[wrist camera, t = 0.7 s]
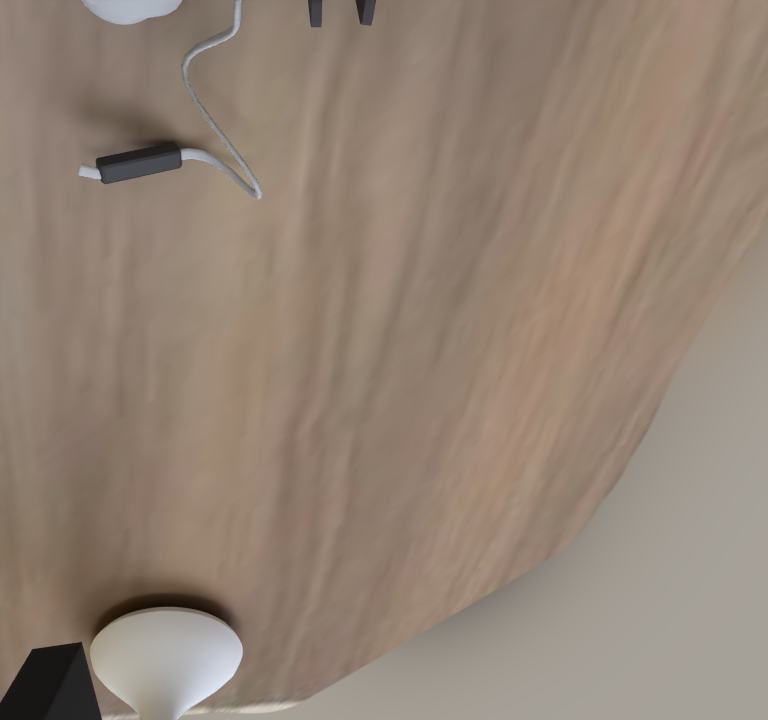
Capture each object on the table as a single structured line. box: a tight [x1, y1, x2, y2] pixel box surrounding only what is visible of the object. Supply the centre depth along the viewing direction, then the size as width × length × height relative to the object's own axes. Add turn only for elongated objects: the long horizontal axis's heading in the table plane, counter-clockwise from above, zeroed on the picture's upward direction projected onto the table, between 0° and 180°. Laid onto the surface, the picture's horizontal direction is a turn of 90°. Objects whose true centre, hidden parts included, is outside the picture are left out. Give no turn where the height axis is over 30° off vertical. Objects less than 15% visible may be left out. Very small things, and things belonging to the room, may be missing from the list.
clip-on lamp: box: [78, 0, 376, 199], centre depth 28 cm, size 12×6×18 cm
